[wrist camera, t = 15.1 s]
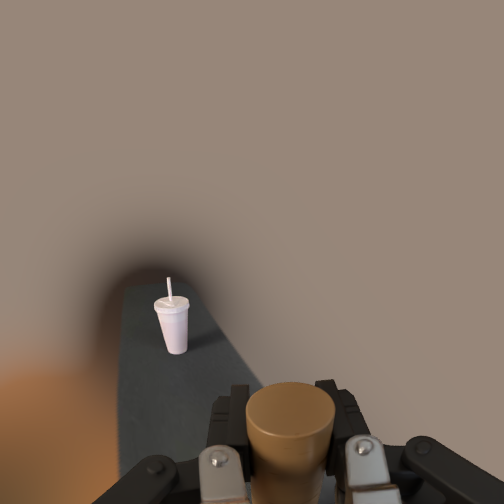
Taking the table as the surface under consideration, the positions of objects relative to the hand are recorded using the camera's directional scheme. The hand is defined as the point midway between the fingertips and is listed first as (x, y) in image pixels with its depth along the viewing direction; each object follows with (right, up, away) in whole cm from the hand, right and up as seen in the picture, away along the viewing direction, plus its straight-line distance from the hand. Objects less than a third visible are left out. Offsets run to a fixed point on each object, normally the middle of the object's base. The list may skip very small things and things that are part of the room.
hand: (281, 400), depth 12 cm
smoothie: (-15, -12, +44) cm, 48 cm away
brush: (0, -12, 0) cm, 12 cm away
